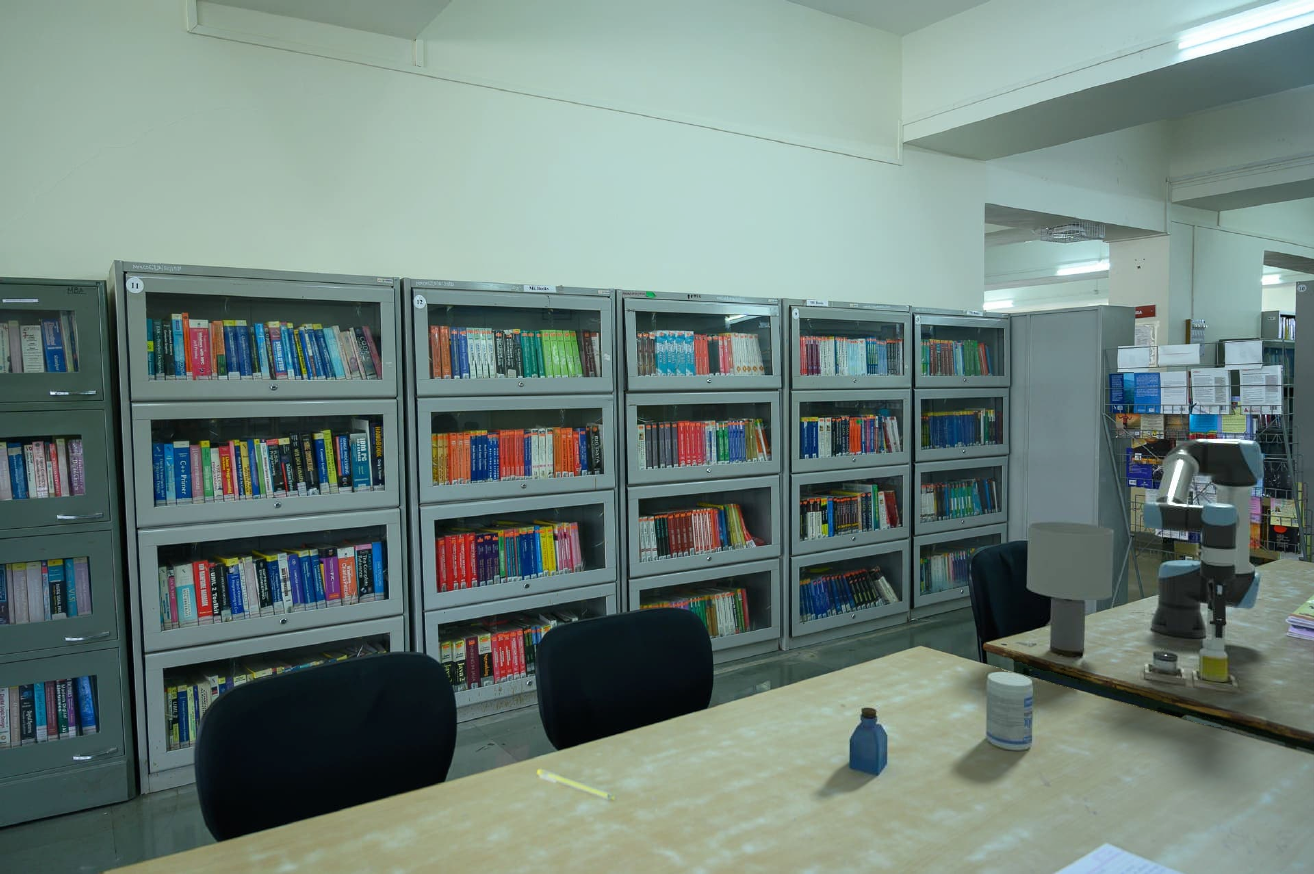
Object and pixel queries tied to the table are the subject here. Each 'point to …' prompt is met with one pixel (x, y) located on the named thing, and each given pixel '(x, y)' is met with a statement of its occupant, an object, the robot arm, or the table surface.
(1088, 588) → the lamp
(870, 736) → the perfume bottle
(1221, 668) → the pill bottle
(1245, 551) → the robot arm
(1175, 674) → the small lidded jar
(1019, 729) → the supplement tub
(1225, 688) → the socket board
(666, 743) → the table surface
